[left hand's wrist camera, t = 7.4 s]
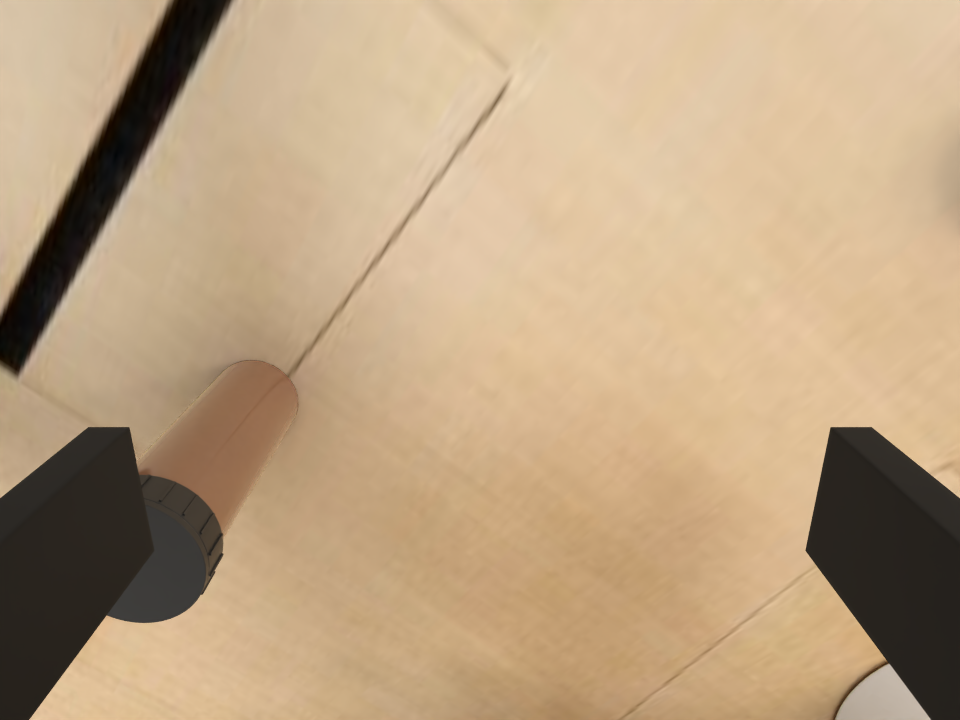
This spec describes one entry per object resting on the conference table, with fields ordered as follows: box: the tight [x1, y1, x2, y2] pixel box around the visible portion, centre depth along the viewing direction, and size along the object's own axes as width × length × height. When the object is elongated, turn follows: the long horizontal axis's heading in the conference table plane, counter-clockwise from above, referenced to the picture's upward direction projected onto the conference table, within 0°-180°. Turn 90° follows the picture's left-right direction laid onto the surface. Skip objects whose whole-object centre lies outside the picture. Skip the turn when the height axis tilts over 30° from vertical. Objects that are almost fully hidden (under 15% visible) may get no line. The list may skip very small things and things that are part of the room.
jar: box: [136, 360, 298, 539], centre depth 34 cm, size 5×5×16 cm
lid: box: [107, 475, 223, 623], centre depth 27 cm, size 6×6×2 cm
